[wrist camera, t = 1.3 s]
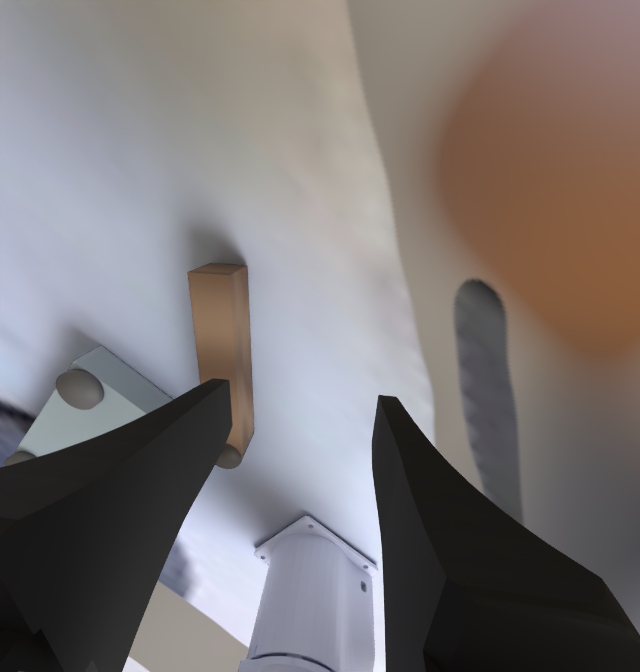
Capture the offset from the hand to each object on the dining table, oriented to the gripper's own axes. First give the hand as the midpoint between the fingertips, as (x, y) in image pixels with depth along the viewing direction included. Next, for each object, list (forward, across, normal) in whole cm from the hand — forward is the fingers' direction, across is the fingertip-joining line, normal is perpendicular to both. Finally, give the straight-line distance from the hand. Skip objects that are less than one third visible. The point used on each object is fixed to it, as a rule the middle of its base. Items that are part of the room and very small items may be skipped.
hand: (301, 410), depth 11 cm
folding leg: (+10, +6, +4) cm, 13 cm away
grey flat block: (+10, +17, +13) cm, 24 cm away
